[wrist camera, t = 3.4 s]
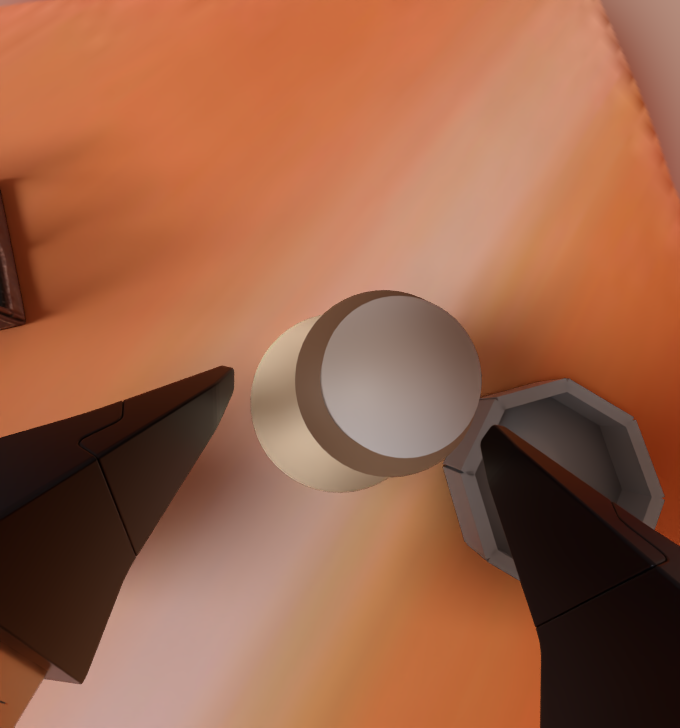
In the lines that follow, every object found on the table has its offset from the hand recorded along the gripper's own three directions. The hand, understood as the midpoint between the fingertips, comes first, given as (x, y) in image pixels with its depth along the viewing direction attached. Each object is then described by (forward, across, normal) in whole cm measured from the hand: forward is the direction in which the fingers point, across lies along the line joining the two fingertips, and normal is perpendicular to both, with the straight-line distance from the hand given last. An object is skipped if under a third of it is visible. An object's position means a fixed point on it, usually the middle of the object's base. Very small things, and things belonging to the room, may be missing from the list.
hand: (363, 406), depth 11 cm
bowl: (+5, +13, -8) cm, 16 cm away
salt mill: (+7, 0, -6) cm, 9 cm away
